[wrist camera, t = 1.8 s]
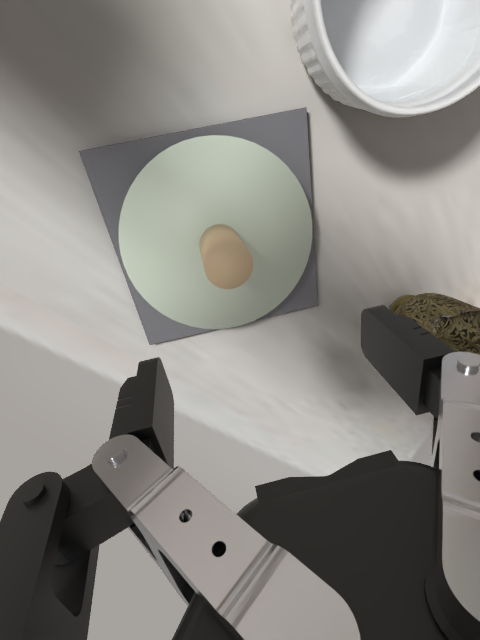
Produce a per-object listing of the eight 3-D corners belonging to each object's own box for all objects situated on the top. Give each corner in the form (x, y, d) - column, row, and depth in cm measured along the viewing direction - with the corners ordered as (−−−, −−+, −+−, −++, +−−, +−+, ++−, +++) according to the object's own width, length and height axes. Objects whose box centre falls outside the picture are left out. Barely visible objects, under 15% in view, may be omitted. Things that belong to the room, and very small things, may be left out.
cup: (385, 352, 37) (434, 402, 30) (355, 307, 33) (402, 351, 26) (445, 310, 35) (512, 352, 28) (420, 259, 32) (489, 292, 25)
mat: (81, 150, 23) (79, 151, 23) (303, 108, 24) (306, 107, 24) (150, 341, 31) (149, 345, 31) (315, 302, 32) (318, 305, 32)
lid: (89, 158, 23) (63, 164, 18) (299, 116, 24) (336, 110, 19) (153, 339, 30) (149, 382, 25) (312, 301, 31) (341, 335, 26)
